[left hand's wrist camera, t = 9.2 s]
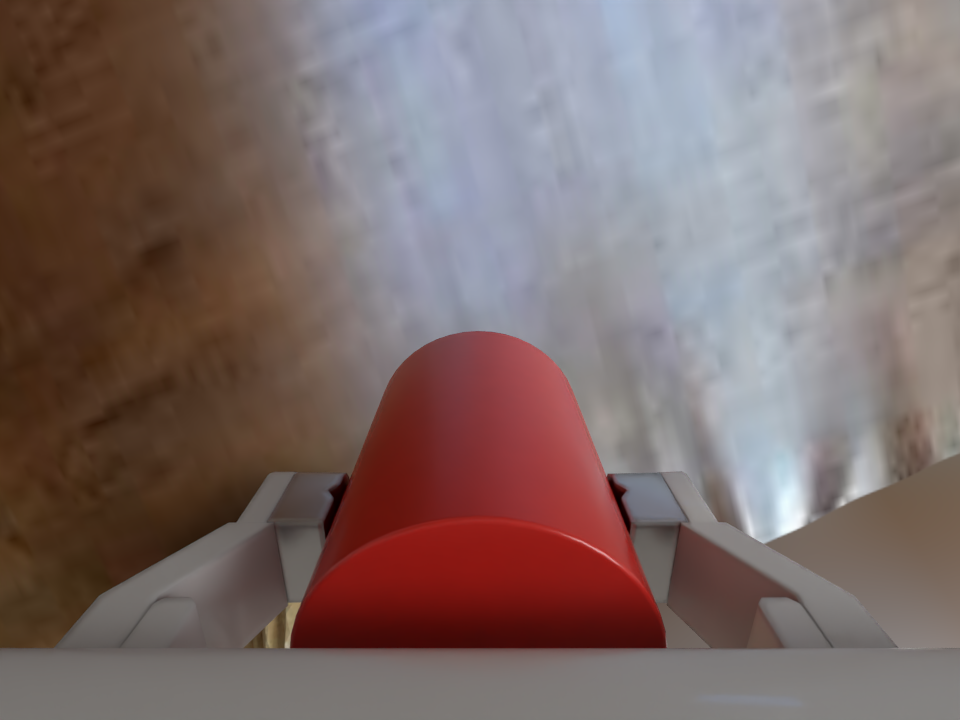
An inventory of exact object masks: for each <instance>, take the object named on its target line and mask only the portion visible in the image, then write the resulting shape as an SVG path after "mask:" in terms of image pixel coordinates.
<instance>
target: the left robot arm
mask: <svg viewBox="0 0 960 720" xmlns="http://www.w3.org/2000/svg"><path fill="white" fill-rule="evenodd" d="M607 480H608V482H609V485H610V487H611V490H612V492H613V495H614V497H615V500H616V502H617V505H618V507H619V510H620V512H621V515H622V518H623V520H624V523H625V525H626V528H627V530H628V533H629V535H630V538H631V540H632V543H633V545H634V548H635V551H636V553H637V556H638V558H639V561H640V563H641V566H642V568H643V571H644V573H645V576H646V578H647V581H648V584H649V586H650V589H651V591H652V594H653V596H654V599H655V601H656V603H667V606H668V607H669V608H670V609H671V610H672V611H673V612H674V613H676V614H677V615H678V616H679V617H680V618H681V619H682V620H683V621H684V622H685V623H686V624H687V625H688V626H689V627H690V628H691V629H692V630H693V631H694V632H695V633H696V634H697V635H698V636H699V637H700V638H701V639H702V640H703V641H705V642H706V643H707V644H708V645H709V646H710V647H711V648H244V647H245V646H246V645H247V644H248V643H249V642H250V641H251V640H252V639H253V638H254V637H255V636H256V635H258V634H259V633H260V632H261V631H262V630H263V629H264V628H265V627H266V626H267V625H268V624H269V623H270V622H271V621H272V620H273V619H274V618H275V617H276V616H277V615H279V614H280V613H281V612H282V611H283V610H284V609H285V608H286V607H287V606H288V603H300V602H302V599H303V596H304V594H305V591H306V589H307V586H308V584H309V581H310V579H311V576H312V574H313V571H314V569H315V566H316V564H317V561H318V559H319V556H320V554H321V551H322V549H323V546H324V543H325V541H326V538H327V536H328V533H329V531H330V528H331V526H332V523H333V521H334V518H335V516H336V513H337V511H338V508H339V506H340V503H341V501H342V498H343V495H344V493H345V490H346V488H347V485H348V483H349V476H348V475H347V473H320V472H298V473H297V472H273V473H270V474H269V475H268V476H267V477H266V479H265V480H264V482H263V483H262V485H261V486H260V488H259V489H258V491H257V492H256V494H255V495H254V497H253V498H252V500H251V501H250V503H249V504H248V506H247V507H246V509H245V510H244V512H243V513H242V515H241V516H240V518H239V519H238V521H237V522H236V523H227V524H225V525H223V526H222V527H220V528H218V529H216V530H214V531H213V532H211V533H209V534H207V535H206V536H204V537H202V538H200V539H198V540H197V541H195V542H193V543H191V544H190V545H188V546H186V547H184V548H182V549H181V550H179V551H177V552H175V553H174V554H172V555H170V556H168V557H167V558H165V559H163V560H161V561H159V562H158V563H156V564H154V565H152V566H151V567H149V568H147V569H145V570H143V571H142V572H140V573H138V574H136V575H135V576H133V577H131V578H129V579H127V580H126V581H124V582H122V583H120V584H119V585H117V586H115V587H113V588H111V589H110V590H108V591H106V592H104V593H103V594H101V595H99V597H98V598H97V599H96V600H95V601H94V602H93V603H92V605H91V606H90V607H89V608H88V609H87V610H86V612H85V613H84V614H83V615H82V616H81V617H80V618H79V620H78V621H77V622H76V623H75V624H74V625H73V627H72V628H71V629H70V630H69V631H68V632H67V633H66V635H65V636H64V637H63V638H62V639H61V640H60V642H59V643H58V644H57V645H56V646H55V647H54V648H0V720H960V648H898V647H897V646H896V644H895V643H894V642H893V641H892V640H891V638H890V637H889V636H888V635H887V634H886V633H885V631H884V630H883V629H882V628H881V627H880V625H879V624H878V623H877V622H876V621H875V620H874V618H873V617H872V616H871V615H870V614H869V612H868V611H867V610H866V609H865V608H864V607H863V605H862V604H861V603H860V602H859V601H858V599H857V598H856V597H855V596H854V595H852V594H850V593H848V592H847V591H845V590H843V589H841V588H840V587H838V586H836V585H834V584H833V583H831V582H829V581H827V580H826V579H824V578H822V577H820V576H819V575H817V574H815V573H813V572H812V571H810V570H808V569H806V568H805V567H803V566H801V565H799V564H798V563H796V562H794V561H792V560H791V559H789V558H787V557H785V556H784V555H782V554H780V553H778V552H777V551H775V550H773V549H771V548H770V547H768V546H766V545H764V544H763V543H761V542H759V541H757V540H756V539H754V538H752V537H750V536H749V535H747V534H745V533H743V532H742V531H740V530H738V529H736V528H735V527H733V526H731V525H729V524H728V523H718V521H717V520H716V518H715V517H714V515H713V514H712V512H711V511H710V509H709V508H708V506H707V505H706V503H705V502H704V500H703V499H702V497H701V496H700V494H699V493H698V491H697V490H696V488H695V487H694V485H693V483H692V482H691V480H690V479H689V477H688V476H687V474H685V473H684V472H657V473H622V474H608V475H607Z"/></svg>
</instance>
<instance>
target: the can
mask: <svg viewBox="0 0 960 720" xmlns="http://www.w3.org/2000/svg"><path fill="white" fill-rule="evenodd" d="M290 648H667V640H666V631H665V628H664V624H663V621H662V618H661V614H660V612H659V609H658V606H657V604H656V601H655V599H654V596H653V594H652V591H651V589H650V586H649V584H648V581H647V578H646V576H645V573H644V571H643V568H642V566H641V563H640V561H639V558H638V556H637V553H636V551H635V548H634V545H633V543H632V540H631V538H630V535H629V533H628V530H627V528H626V525H625V523H624V520H623V518H622V515H621V512H620V510H619V507H618V505H617V502H616V500H615V497H614V495H613V492H612V490H611V487H610V485H609V482H608V480H607V477H606V474H605V472H604V469H603V467H602V464H601V462H600V459H599V457H598V454H597V452H596V449H595V447H594V444H593V441H592V439H591V436H590V434H589V431H588V429H587V426H586V424H585V421H584V419H583V416H582V414H581V411H580V408H579V406H578V403H577V401H576V398H575V396H574V393H573V391H572V388H571V386H570V384H569V382H568V380H567V378H566V377H565V375H564V374H563V372H562V371H561V370H560V368H559V367H558V366H557V365H556V364H555V363H554V362H553V360H552V359H550V358H549V357H548V356H547V355H546V354H544V353H543V352H542V351H541V350H539V349H538V348H536V347H534V346H533V345H531V344H529V343H527V342H525V341H523V340H521V339H518V338H515V337H512V336H509V335H506V334H501V333H495V332H485V331H473V332H462V333H457V334H452V335H448V336H445V337H442V338H439V339H437V340H435V341H433V342H430V343H428V344H426V345H425V346H423V347H422V348H420V349H418V350H417V351H415V352H414V353H413V354H412V355H411V356H409V357H408V358H407V359H406V360H405V361H404V362H403V363H402V364H401V365H400V367H399V368H398V369H397V370H396V372H395V373H394V375H393V376H392V378H391V379H390V381H389V383H388V385H387V388H386V390H385V392H384V394H383V397H382V400H381V402H380V405H379V407H378V410H377V412H376V415H375V417H374V420H373V422H372V425H371V427H370V430H369V432H368V435H367V437H366V440H365V442H364V445H363V448H362V450H361V453H360V455H359V458H358V460H357V463H356V465H355V468H354V470H353V473H352V475H351V478H350V480H349V483H348V485H347V488H346V490H345V493H344V495H343V498H342V501H341V503H340V506H339V508H338V511H337V513H336V516H335V518H334V521H333V523H332V526H331V528H330V531H329V533H328V536H327V538H326V541H325V543H324V546H323V549H322V551H321V554H320V556H319V559H318V561H317V564H316V566H315V569H314V571H313V574H312V576H311V579H310V581H309V584H308V586H307V589H306V591H305V594H304V596H303V599H302V602H301V604H300V607H299V609H298V612H297V614H296V617H295V621H294V624H293V628H292V632H291V638H290Z"/></svg>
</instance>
